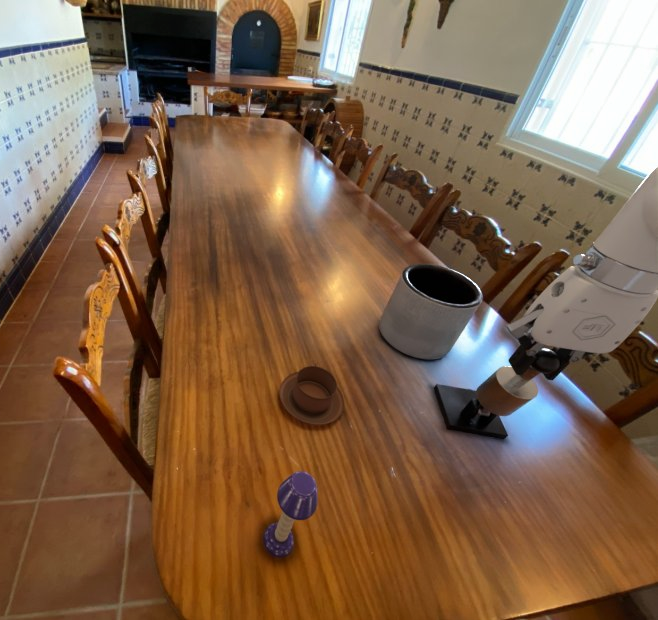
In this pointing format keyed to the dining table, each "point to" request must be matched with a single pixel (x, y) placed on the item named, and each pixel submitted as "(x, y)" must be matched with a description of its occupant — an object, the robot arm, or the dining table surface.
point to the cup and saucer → (312, 396)
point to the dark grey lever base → (467, 413)
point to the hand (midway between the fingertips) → (529, 369)
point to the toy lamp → (291, 512)
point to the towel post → (513, 386)
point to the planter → (429, 310)
